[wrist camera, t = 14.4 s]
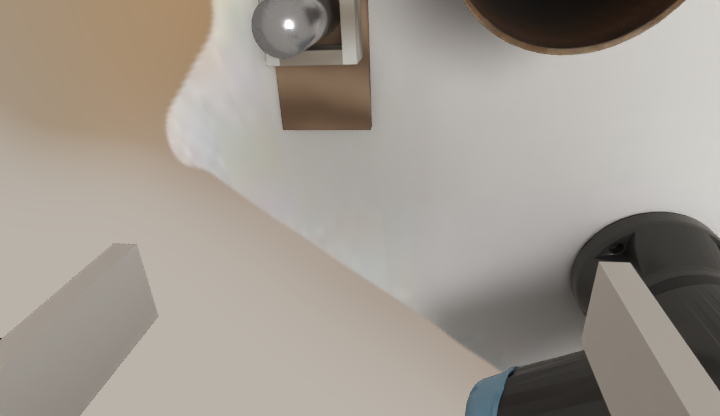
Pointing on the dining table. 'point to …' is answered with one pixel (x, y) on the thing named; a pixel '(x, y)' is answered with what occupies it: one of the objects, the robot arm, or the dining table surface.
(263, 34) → the pin
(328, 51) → the socket board
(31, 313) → the robot arm
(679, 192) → the dining table surface
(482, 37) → the dining table surface
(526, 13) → the plant pot
